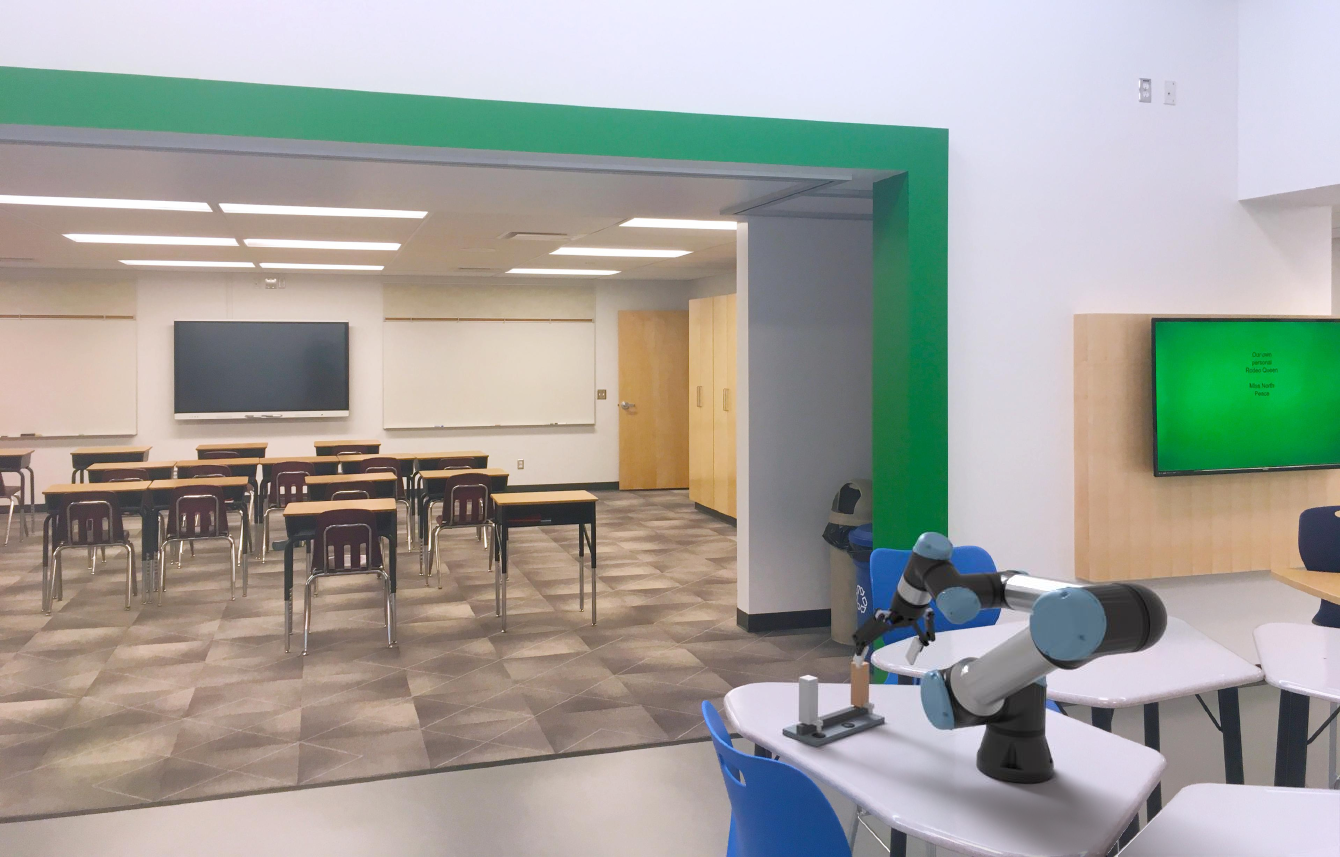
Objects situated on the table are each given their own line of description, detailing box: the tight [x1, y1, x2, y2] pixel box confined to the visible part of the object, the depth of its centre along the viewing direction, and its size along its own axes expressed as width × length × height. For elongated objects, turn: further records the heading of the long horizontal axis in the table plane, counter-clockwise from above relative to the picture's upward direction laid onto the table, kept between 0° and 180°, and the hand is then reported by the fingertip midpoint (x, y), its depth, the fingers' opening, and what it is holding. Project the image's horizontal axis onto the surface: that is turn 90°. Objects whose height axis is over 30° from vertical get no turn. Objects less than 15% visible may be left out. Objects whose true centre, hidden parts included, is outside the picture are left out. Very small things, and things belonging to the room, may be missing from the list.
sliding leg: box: [850, 660, 875, 715], centre depth 236 cm, size 3×5×11 cm, turn 40°
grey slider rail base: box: [782, 674, 886, 747], centre depth 231 cm, size 24×10×14 cm, turn 130°
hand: (883, 662), depth 230 cm, fingers open, 13 cm apart
